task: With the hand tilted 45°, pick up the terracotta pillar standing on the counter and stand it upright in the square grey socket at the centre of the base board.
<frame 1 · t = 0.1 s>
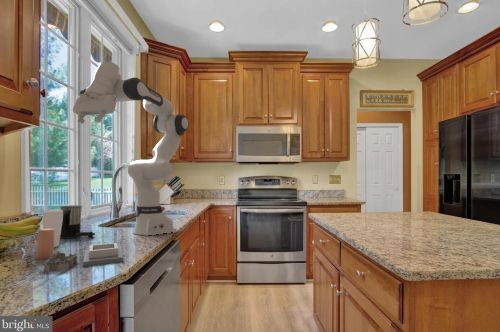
hand: (88, 122, 111), 52 cm above the worktop, tool tilted 20°, fingers open, 8 cm apart
base board: (103, 257, 99), on the worktop
grey rock frame: (61, 267, 89), on the worktop
pillar: (45, 257, 98), on the worktop
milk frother: (76, 237, 129), on the worktop
drinking glass: (51, 247, 112), on the worktop
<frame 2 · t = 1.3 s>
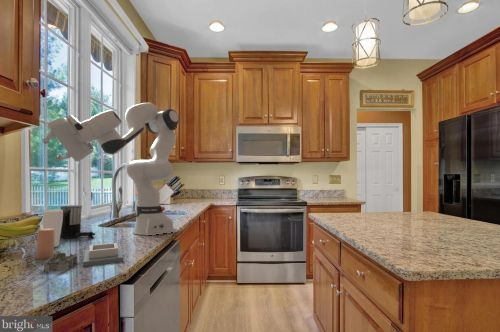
hand: (50, 150, 109), 40 cm above the worktop, tool tilted 55°, fingers open, 8 cm apart
nothing on the worktop moved.
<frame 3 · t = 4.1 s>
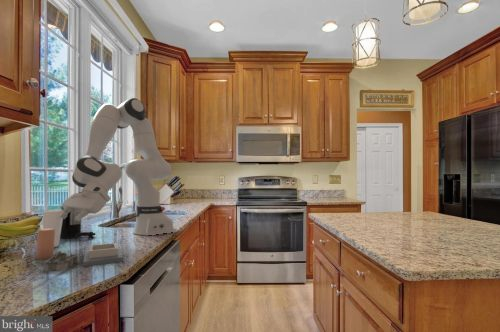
hand: (68, 218, 107), 13 cm above the worktop, tool tilted 45°, fingers open, 8 cm apart
nothing on the worktop moved.
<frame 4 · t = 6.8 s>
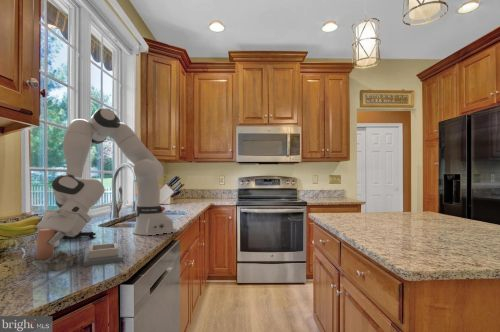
hand: (43, 242, 97), 5 cm above the worktop, tool tilted 45°, fingers closed on pillar, 5 cm apart
pillar: (45, 257, 98), on the worktop, touching gripper
everything else where it was.
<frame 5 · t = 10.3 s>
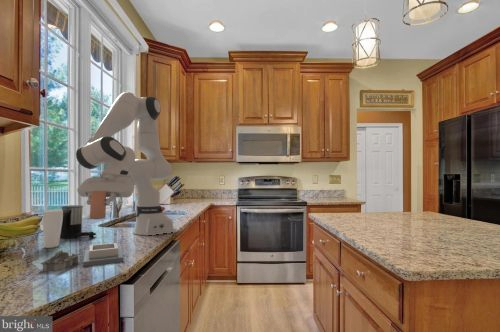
hand: (97, 203, 98), 20 cm above the worktop, tool tilted 45°, fingers closed on pillar, 5 cm apart
pillar: (97, 218, 99), point 14 cm above the worktop, touching gripper
everything else where it was.
when the fingers open (8 cm above the worktop, at t = 13.8 s): pillar drops 2 cm, resting on base board.
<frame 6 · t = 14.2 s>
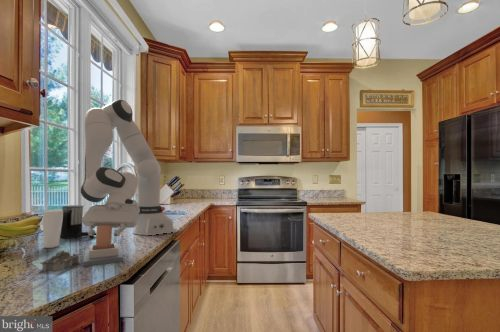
hand: (103, 235, 99), 8 cm above the worktop, tool tilted 45°, fingers open, 8 cm apart
pillar: (103, 253, 99), point 2 cm above the worktop, touching base board
everything else where it was.
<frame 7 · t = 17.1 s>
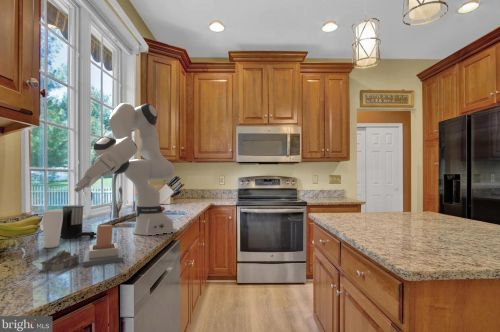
hand: (76, 189, 104), 25 cm above the worktop, tool tilted 45°, fingers open, 8 cm apart
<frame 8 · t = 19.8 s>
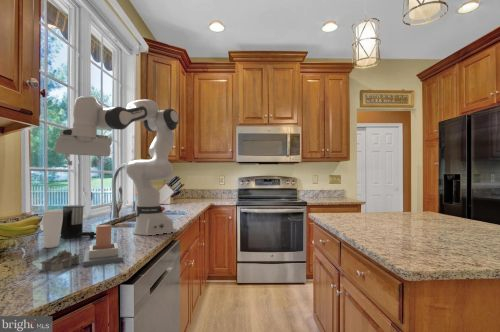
hand: (83, 165, 114), 34 cm above the worktop, tool pointing down, fingers open, 8 cm apart
at the end: pillar 0.1 cm off-centre on the base board, point 1.6 cm above the base board's base; pillar tilted 2°; the gripper is holding nothing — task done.
